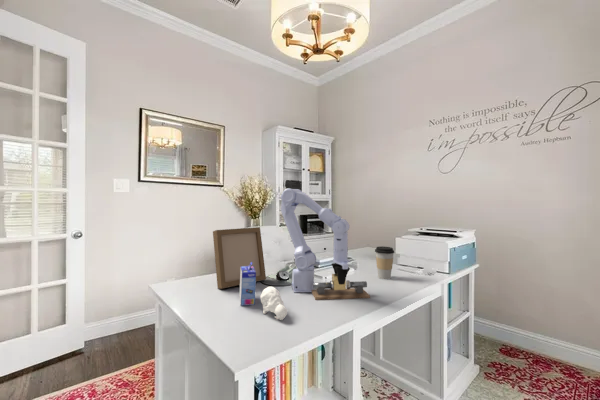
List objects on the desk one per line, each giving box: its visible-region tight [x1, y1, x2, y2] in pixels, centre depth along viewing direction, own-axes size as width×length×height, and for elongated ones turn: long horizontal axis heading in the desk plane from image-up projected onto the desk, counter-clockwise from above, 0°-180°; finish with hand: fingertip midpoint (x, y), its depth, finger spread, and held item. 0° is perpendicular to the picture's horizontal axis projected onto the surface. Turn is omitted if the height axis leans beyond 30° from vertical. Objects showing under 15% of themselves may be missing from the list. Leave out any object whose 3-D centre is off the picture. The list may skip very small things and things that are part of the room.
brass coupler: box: [331, 273, 347, 290], centre depth 112 cm, size 5×4×6 cm
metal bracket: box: [267, 264, 297, 284], centre depth 136 cm, size 14×6×15 cm
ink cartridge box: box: [238, 262, 257, 307], centre depth 104 cm, size 10×6×14 cm, turn 15°
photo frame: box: [212, 226, 267, 289], centre depth 128 cm, size 15×22×25 cm
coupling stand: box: [311, 279, 371, 301], centre depth 112 cm, size 22×9×6 cm, turn 97°
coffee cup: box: [374, 245, 395, 280], centre depth 138 cm, size 9×9×15 cm
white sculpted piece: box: [259, 286, 288, 321], centre depth 92 cm, size 6×8×12 cm
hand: (340, 282), depth 112 cm, fingers closed on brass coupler, 4 cm apart
